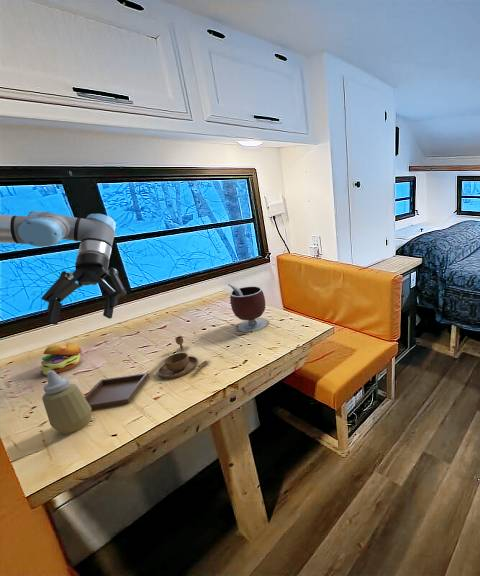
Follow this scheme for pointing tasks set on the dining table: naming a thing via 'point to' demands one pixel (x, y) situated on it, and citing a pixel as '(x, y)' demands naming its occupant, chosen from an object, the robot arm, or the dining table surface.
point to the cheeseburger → (60, 358)
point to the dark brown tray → (115, 390)
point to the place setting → (179, 363)
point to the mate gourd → (248, 307)
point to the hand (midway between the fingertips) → (80, 320)
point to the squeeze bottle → (65, 405)
